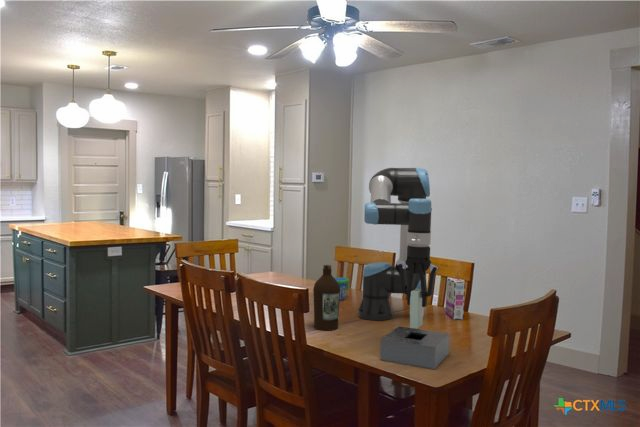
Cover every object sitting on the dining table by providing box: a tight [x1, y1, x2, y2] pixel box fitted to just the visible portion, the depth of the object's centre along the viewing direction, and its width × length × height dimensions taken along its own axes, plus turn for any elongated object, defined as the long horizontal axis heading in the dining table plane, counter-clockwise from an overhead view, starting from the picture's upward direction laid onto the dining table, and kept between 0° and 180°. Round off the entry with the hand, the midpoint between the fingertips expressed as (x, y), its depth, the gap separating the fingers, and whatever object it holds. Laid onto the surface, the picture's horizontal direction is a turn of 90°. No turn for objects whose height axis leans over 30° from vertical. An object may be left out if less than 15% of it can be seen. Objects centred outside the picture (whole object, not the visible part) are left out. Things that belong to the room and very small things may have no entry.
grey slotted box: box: [379, 326, 451, 370], centre depth 181 cm, size 18×18×7 cm
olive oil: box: [312, 264, 341, 332], centre depth 215 cm, size 11×11×25 cm
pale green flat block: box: [409, 289, 424, 329], centre depth 180 cm, size 2×6×12 cm, turn 153°
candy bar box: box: [445, 277, 466, 321], centre depth 237 cm, size 11×5×16 cm, turn 5°
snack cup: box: [333, 276, 350, 301], centre depth 269 cm, size 16×10×10 cm
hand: (416, 315), depth 180 cm, fingers closed on pale green flat block, 2 cm apart
